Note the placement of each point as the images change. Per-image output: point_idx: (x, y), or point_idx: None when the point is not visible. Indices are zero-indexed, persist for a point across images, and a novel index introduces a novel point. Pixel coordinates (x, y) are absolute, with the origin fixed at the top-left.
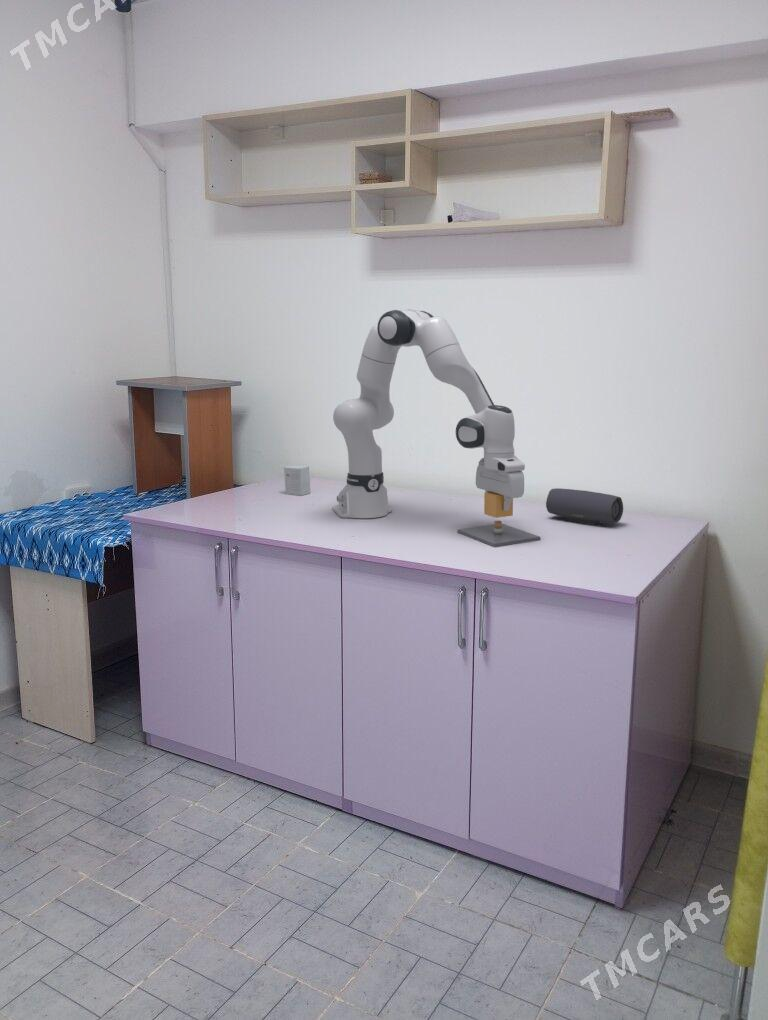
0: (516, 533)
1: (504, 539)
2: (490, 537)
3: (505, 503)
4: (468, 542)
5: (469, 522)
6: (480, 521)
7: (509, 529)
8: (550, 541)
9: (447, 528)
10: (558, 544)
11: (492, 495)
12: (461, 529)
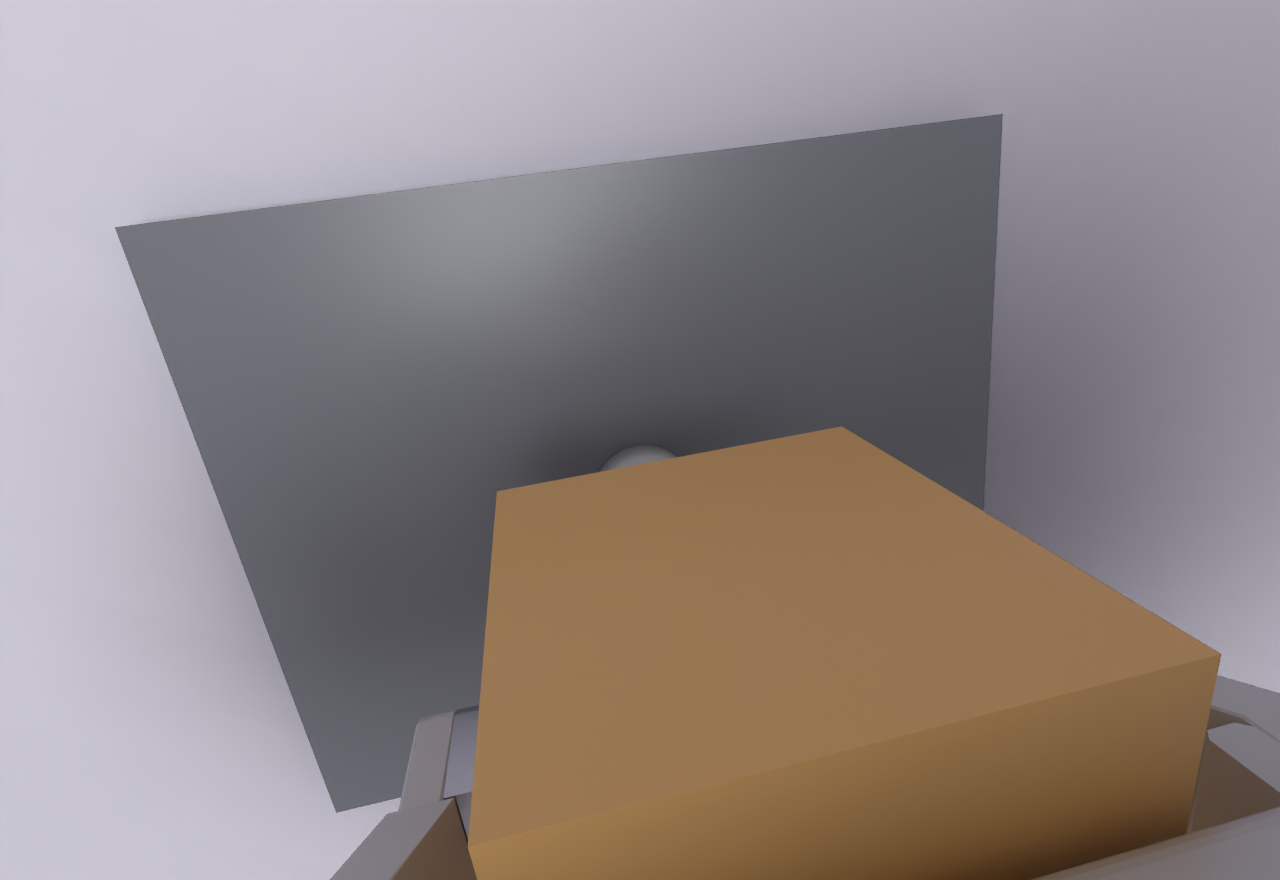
0: None
1: (319, 442)
2: (472, 325)
3: (354, 857)
4: (491, 13)
5: (1225, 434)
6: (1192, 539)
7: None
8: (268, 844)
9: (1180, 102)
10: (130, 874)
11: (710, 768)
12: (970, 161)
